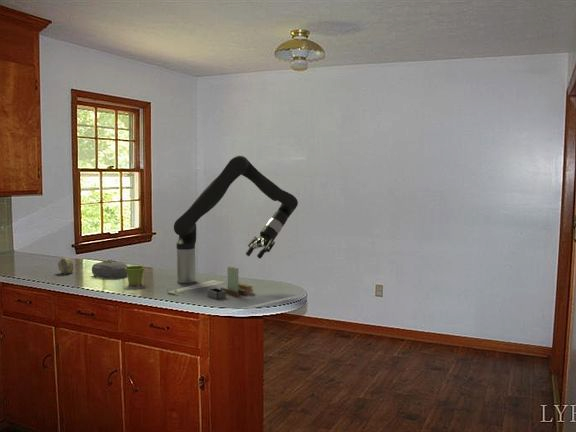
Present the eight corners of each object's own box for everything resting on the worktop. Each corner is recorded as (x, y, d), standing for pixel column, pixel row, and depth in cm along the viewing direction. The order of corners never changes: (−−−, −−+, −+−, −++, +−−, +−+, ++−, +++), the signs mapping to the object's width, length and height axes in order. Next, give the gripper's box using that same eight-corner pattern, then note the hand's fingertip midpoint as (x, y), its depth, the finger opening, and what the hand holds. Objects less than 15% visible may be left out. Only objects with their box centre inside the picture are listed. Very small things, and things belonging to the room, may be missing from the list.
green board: (231, 292, 237) (231, 266, 236) (238, 294, 233) (238, 268, 232) (227, 293, 236) (227, 267, 235) (234, 295, 232) (234, 268, 230)
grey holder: (216, 296, 233) (216, 287, 233) (226, 299, 227) (226, 291, 227) (206, 298, 230) (206, 289, 229) (216, 301, 224) (216, 292, 223)
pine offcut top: (239, 286, 241) (239, 282, 241) (252, 289, 234) (252, 285, 234) (234, 287, 239) (234, 283, 239) (246, 290, 232) (246, 286, 232)
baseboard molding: (230, 285, 258) (212, 283, 265) (230, 279, 258) (212, 277, 264) (186, 298, 232) (167, 295, 239) (185, 292, 232) (167, 288, 239)
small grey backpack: (88, 276, 279) (113, 280, 269) (87, 261, 278) (112, 264, 268) (110, 271, 292) (135, 275, 282) (110, 257, 291) (135, 260, 281)
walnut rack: (237, 290, 245) (237, 284, 244) (255, 295, 234) (255, 289, 234) (219, 294, 238) (218, 287, 237) (237, 299, 227) (236, 293, 227)
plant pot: (149, 283, 260) (148, 266, 259) (133, 287, 252) (133, 270, 251) (136, 281, 265) (136, 265, 264) (121, 285, 257) (121, 267, 256)
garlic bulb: (68, 278, 284) (67, 263, 280) (54, 275, 285) (52, 260, 281) (78, 270, 293) (76, 255, 289) (64, 267, 294) (63, 252, 290)
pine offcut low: (237, 289, 243) (237, 285, 243) (253, 293, 234) (253, 289, 234) (231, 290, 241) (231, 286, 241) (246, 294, 232) (246, 290, 232)
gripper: (257, 223, 250) (238, 249, 244) (276, 226, 240) (257, 253, 233) (266, 233, 254) (248, 259, 248) (285, 236, 244) (266, 263, 237)
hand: (252, 256), depth 240 cm, fingers open, 8 cm apart
